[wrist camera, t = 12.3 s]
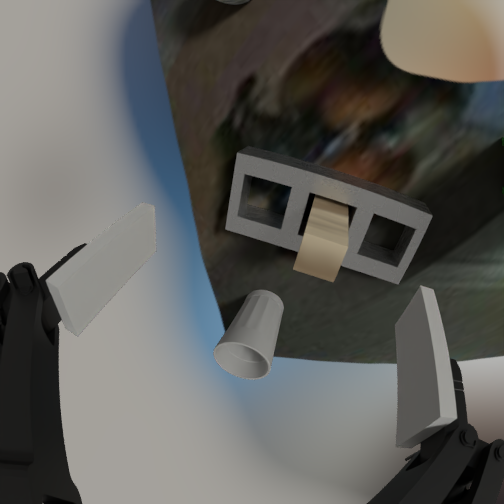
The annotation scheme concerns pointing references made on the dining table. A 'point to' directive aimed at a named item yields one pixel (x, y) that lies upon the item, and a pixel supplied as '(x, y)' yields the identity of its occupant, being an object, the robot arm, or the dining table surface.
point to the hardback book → (502, 144)
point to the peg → (324, 239)
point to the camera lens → (233, 1)
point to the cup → (251, 337)
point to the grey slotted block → (334, 187)
